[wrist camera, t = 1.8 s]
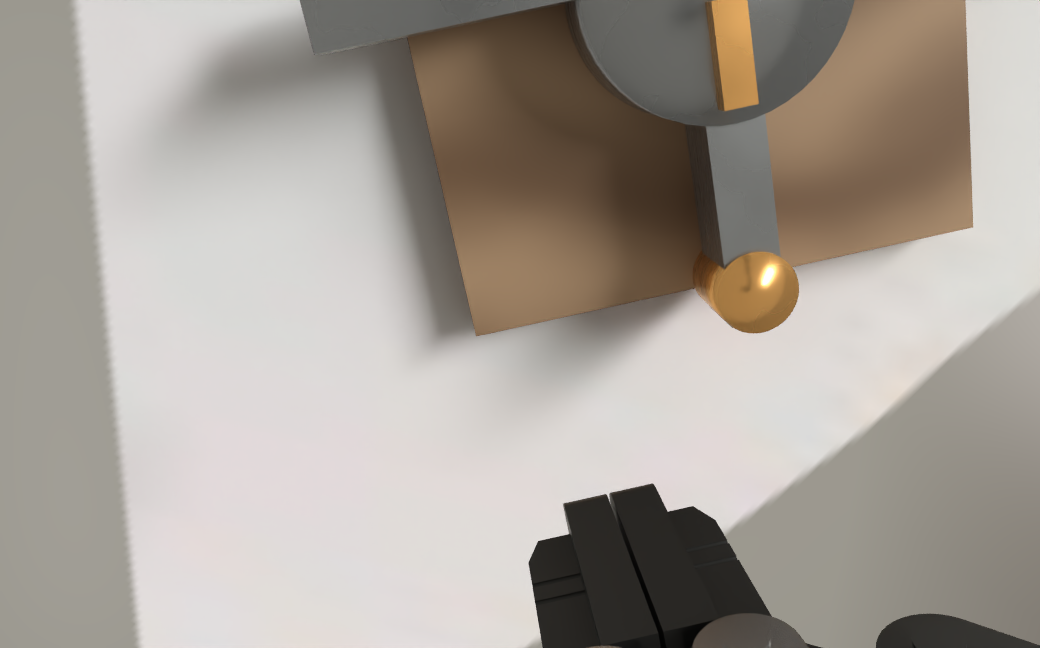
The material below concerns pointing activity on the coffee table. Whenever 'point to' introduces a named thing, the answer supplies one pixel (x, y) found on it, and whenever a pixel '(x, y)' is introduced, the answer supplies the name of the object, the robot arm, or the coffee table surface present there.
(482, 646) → the coffee table surface
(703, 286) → the spoked handwheel
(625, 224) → the stand board
